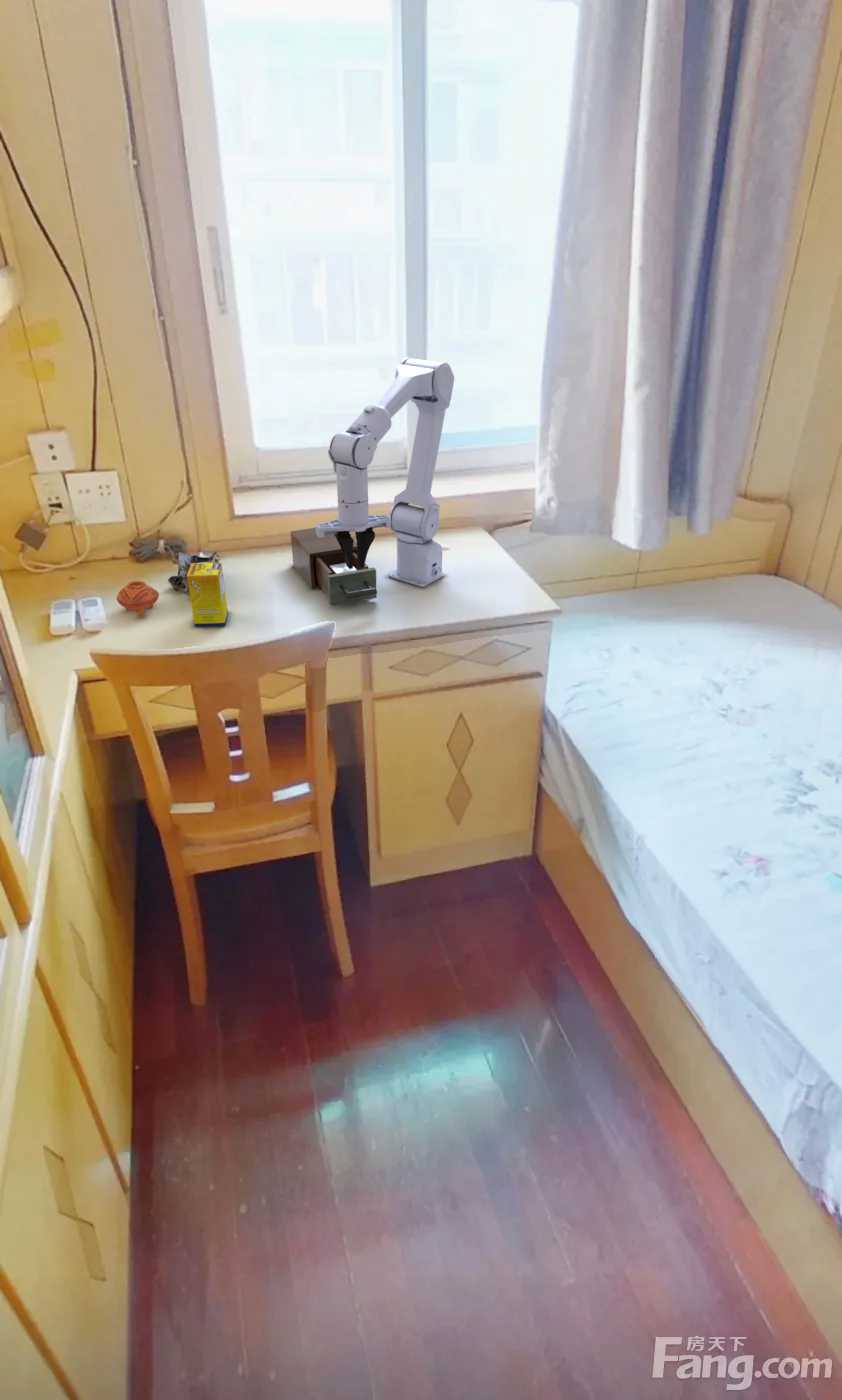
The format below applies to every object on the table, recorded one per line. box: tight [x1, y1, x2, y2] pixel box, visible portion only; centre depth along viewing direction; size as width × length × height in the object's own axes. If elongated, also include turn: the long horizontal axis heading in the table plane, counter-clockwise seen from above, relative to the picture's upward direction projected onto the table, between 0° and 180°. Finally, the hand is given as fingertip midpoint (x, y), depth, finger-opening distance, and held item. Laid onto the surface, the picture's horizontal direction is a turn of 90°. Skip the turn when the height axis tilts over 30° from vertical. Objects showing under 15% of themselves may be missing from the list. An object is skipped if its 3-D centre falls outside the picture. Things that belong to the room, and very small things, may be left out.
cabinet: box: [290, 527, 357, 590], centre depth 180 cm, size 14×11×8 cm
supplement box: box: [187, 562, 229, 628], centre depth 160 cm, size 6×6×11 cm
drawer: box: [313, 551, 378, 607], centre depth 169 cm, size 18×10×6 cm, turn 24°
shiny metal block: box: [329, 563, 356, 574], centre depth 171 cm, size 6×4×4 cm
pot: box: [116, 580, 160, 619], centre depth 164 cm, size 8×8×7 cm
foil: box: [167, 551, 221, 597], centre depth 173 cm, size 12×11×15 cm
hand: (355, 566), depth 162 cm, fingers closed
